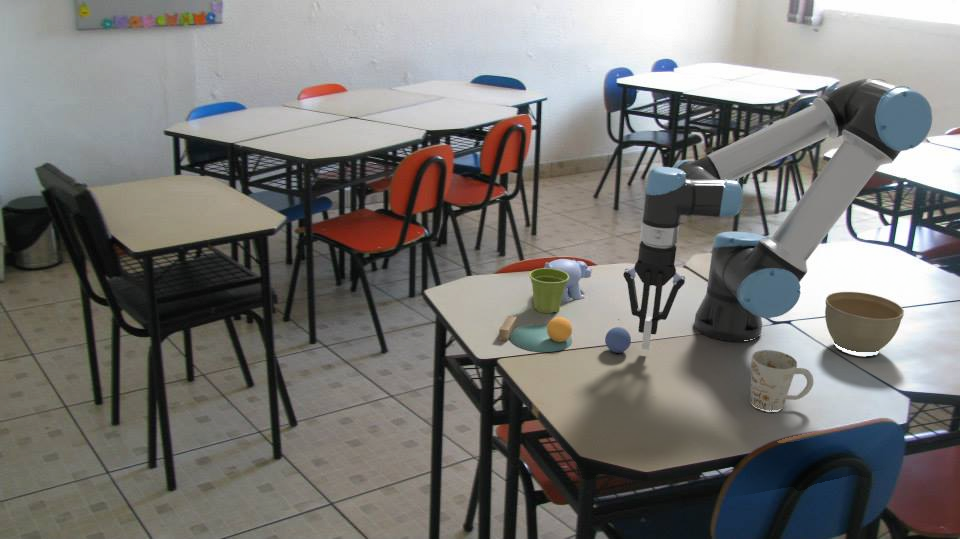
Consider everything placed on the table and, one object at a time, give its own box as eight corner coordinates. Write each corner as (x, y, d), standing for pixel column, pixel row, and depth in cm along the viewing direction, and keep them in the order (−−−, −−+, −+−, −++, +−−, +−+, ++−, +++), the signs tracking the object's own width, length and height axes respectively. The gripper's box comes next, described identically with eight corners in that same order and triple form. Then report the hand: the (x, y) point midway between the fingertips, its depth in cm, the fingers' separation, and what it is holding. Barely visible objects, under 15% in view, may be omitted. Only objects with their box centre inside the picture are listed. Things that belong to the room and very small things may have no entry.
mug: (738, 395, 181) (745, 349, 177) (799, 395, 182) (807, 350, 179) (753, 416, 173) (761, 369, 170) (816, 416, 174) (826, 369, 171)
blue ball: (608, 320, 198) (603, 341, 200) (607, 333, 193) (602, 354, 196) (633, 325, 197) (628, 346, 200) (633, 338, 192) (627, 360, 195)
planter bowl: (890, 341, 209) (900, 297, 206) (897, 370, 195) (908, 324, 191) (816, 329, 214) (824, 286, 210) (818, 357, 199) (827, 311, 196)
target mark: (576, 330, 207) (576, 329, 207) (565, 356, 194) (566, 355, 194) (516, 321, 210) (516, 320, 210) (502, 346, 197) (502, 345, 197)
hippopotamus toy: (601, 294, 229) (605, 258, 226) (556, 305, 220) (559, 268, 217) (572, 280, 237) (575, 245, 234) (528, 291, 228) (530, 255, 225)
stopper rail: (516, 326, 207) (516, 316, 206) (507, 340, 200) (508, 330, 199) (507, 325, 208) (508, 315, 207) (498, 339, 200) (499, 329, 199)
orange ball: (554, 309, 202) (546, 330, 204) (550, 319, 197) (541, 340, 199) (577, 319, 201) (568, 340, 203) (573, 329, 196) (564, 350, 198)
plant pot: (563, 318, 213) (566, 284, 210) (524, 314, 214) (526, 279, 211) (568, 304, 221) (571, 270, 218) (530, 299, 223) (532, 266, 220)
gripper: (624, 244, 186) (613, 348, 194) (689, 252, 183) (675, 358, 191) (628, 233, 193) (617, 335, 201) (691, 241, 190) (677, 344, 198)
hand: (645, 346), depth 196 cm, fingers closed
